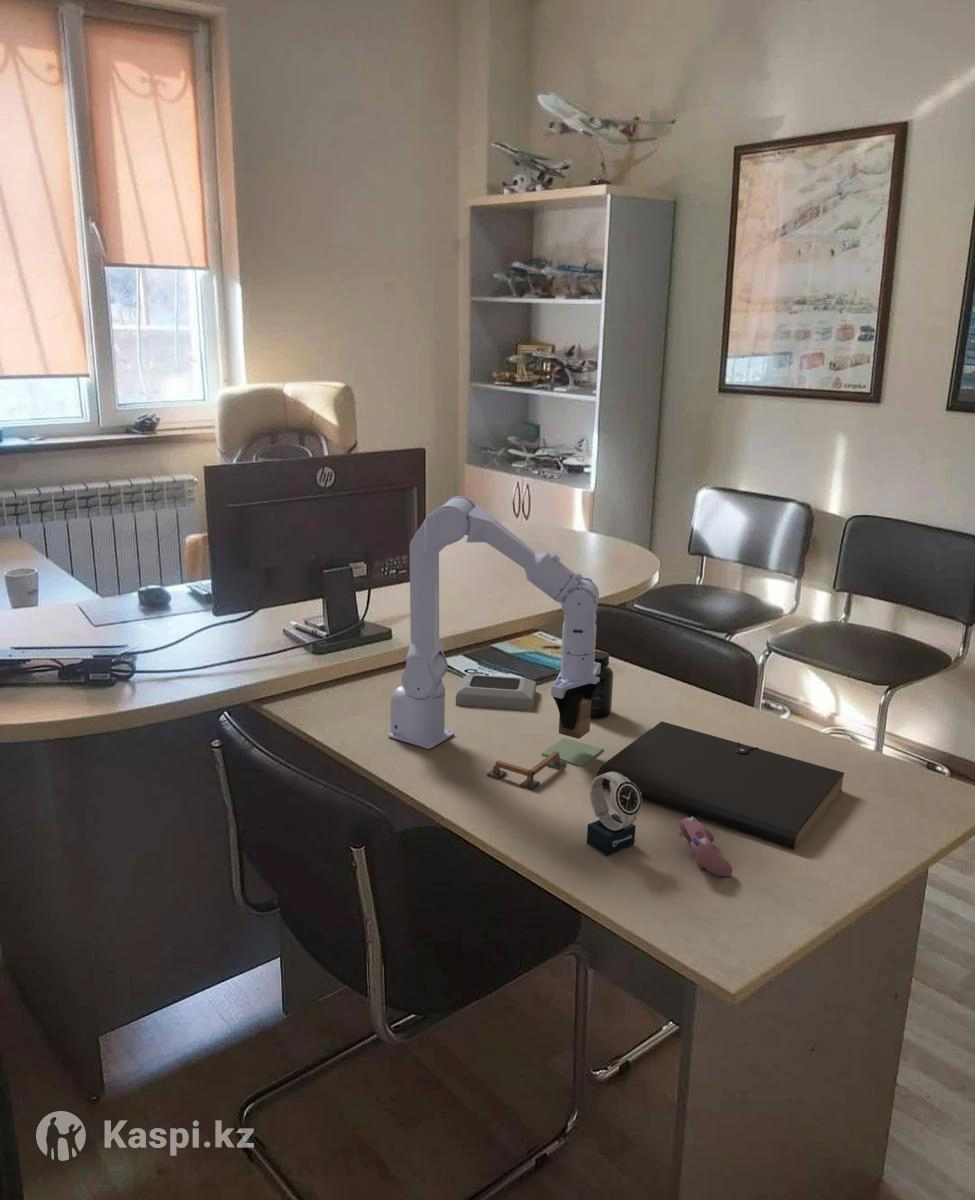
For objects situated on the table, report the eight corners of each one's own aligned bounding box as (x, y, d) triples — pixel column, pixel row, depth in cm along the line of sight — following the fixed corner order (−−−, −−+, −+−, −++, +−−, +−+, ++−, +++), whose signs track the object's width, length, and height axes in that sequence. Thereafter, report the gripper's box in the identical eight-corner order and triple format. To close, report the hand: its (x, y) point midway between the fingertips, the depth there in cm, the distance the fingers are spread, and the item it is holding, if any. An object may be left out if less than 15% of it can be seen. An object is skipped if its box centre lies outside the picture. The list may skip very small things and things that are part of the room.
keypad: (532, 694, 190) (455, 688, 191) (531, 711, 191) (455, 706, 192) (536, 676, 199) (463, 671, 200) (535, 693, 200) (462, 688, 202)
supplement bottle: (617, 711, 191) (620, 653, 187) (601, 723, 185) (605, 663, 182) (585, 703, 194) (588, 646, 191) (569, 714, 189) (572, 655, 185)
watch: (616, 862, 139) (621, 792, 136) (578, 838, 145) (582, 770, 142) (644, 850, 142) (649, 781, 139) (605, 827, 148) (610, 761, 145)
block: (558, 733, 171) (560, 701, 169) (569, 725, 174) (571, 694, 172) (579, 739, 169) (580, 706, 167) (589, 731, 172) (591, 699, 170)
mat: (541, 754, 172) (541, 753, 171) (563, 739, 178) (563, 737, 178) (582, 766, 167) (582, 765, 167) (603, 750, 174) (603, 748, 174)
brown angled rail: (486, 775, 164) (486, 761, 163) (521, 751, 173) (521, 738, 172) (532, 790, 159) (533, 776, 158) (565, 764, 168) (566, 751, 167)
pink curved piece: (686, 851, 145) (668, 814, 143) (714, 838, 145) (696, 801, 143) (706, 890, 136) (688, 850, 134) (736, 875, 135) (718, 836, 133)
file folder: (845, 770, 161) (795, 831, 142) (842, 792, 162) (792, 856, 143) (662, 718, 179) (596, 767, 160) (660, 739, 180) (595, 790, 161)
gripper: (579, 667, 159) (575, 743, 163) (617, 643, 171) (613, 715, 175) (541, 658, 163) (538, 733, 167) (581, 635, 175) (578, 706, 179)
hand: (574, 723), depth 171 cm, fingers closed on block, 4 cm apart
